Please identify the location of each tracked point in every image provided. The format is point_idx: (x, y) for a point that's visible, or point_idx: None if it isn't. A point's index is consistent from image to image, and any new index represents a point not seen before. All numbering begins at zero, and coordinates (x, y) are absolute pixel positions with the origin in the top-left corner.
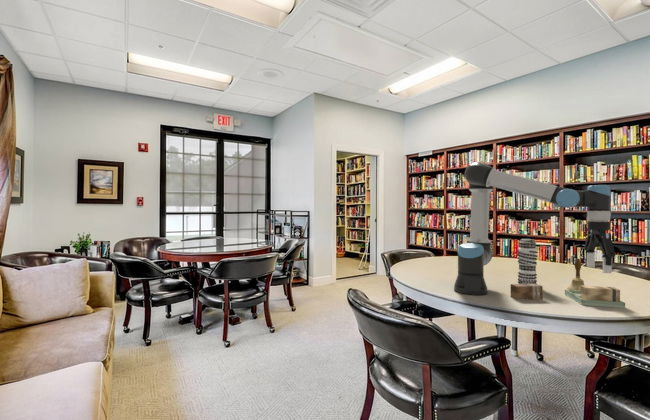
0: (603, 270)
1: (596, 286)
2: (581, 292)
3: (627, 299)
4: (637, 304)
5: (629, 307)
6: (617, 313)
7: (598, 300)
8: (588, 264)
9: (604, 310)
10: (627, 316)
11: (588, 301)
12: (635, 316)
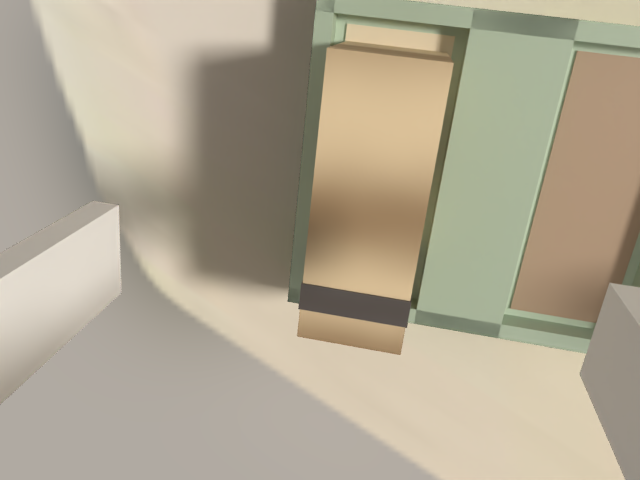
0: (75, 213)
1: (420, 214)
2: (432, 55)
3: (549, 458)
4: (414, 426)
5: None
6: (144, 142)
7: None
8: (620, 319)
9: (198, 93)
10: (92, 164)
11: (313, 48)
12: None
